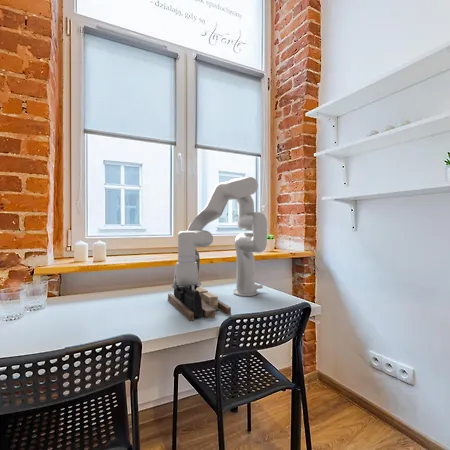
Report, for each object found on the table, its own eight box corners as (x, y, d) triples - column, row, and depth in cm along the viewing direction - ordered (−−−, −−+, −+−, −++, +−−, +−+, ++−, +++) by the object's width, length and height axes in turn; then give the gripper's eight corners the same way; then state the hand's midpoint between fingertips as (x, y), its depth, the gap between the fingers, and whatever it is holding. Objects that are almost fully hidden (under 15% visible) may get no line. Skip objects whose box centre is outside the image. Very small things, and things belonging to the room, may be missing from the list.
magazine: (205, 297, 115) (182, 264, 141) (197, 298, 114) (176, 264, 139) (200, 335, 120) (179, 296, 146) (192, 336, 119) (173, 296, 144)
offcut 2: (210, 305, 136) (210, 292, 136) (217, 310, 129) (217, 296, 128) (202, 306, 134) (202, 293, 134) (209, 311, 127) (209, 297, 127)
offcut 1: (201, 299, 146) (201, 287, 145) (207, 303, 138) (207, 290, 138) (193, 300, 144) (193, 287, 144) (199, 304, 137) (199, 291, 136)
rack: (201, 295, 151) (201, 290, 151) (230, 314, 122) (230, 307, 122) (168, 300, 143) (168, 293, 143) (190, 321, 115) (190, 313, 115)
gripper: (201, 257, 137) (201, 296, 138) (165, 259, 130) (165, 301, 130) (207, 259, 130) (207, 301, 131) (170, 261, 123) (170, 305, 124)
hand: (186, 300), depth 131 cm, fingers closed on magazine, 3 cm apart
